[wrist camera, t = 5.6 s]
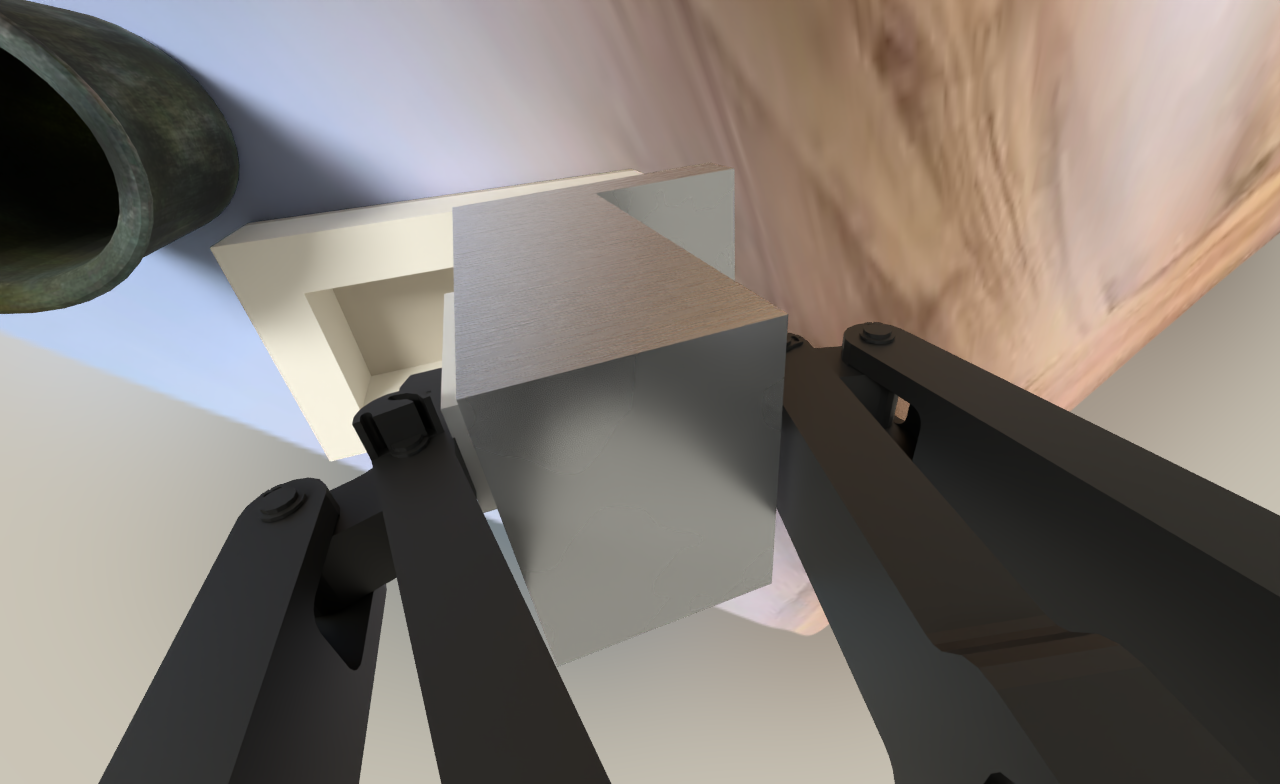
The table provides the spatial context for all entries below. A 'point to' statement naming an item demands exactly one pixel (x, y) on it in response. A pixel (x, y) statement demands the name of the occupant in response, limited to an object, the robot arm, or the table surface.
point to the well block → (354, 298)
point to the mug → (97, 155)
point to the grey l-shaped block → (621, 398)
